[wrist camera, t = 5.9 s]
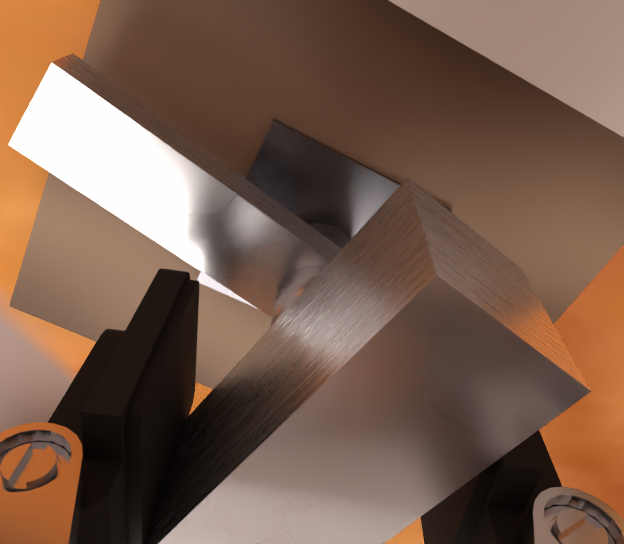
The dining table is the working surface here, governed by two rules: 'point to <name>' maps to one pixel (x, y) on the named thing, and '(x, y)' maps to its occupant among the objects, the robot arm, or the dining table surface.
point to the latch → (316, 335)
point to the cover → (545, 45)
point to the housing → (327, 152)
